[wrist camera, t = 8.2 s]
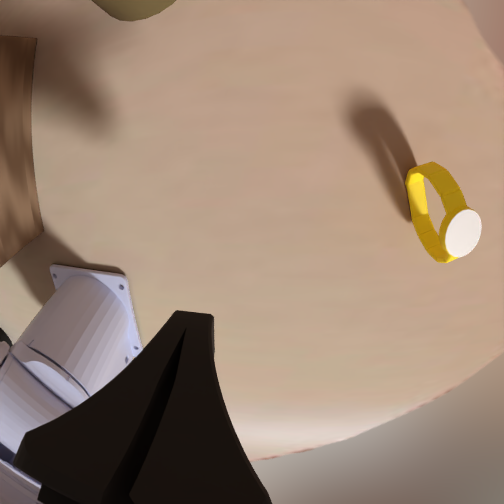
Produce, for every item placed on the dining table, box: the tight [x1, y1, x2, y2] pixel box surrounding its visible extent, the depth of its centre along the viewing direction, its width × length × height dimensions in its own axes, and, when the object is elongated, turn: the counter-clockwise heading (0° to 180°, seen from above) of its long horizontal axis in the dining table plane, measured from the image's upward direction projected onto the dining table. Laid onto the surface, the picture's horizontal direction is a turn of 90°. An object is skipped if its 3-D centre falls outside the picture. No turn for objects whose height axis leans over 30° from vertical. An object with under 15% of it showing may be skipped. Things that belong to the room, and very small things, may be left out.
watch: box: [405, 162, 482, 263], centre depth 14 cm, size 6×3×6 cm, turn 22°
